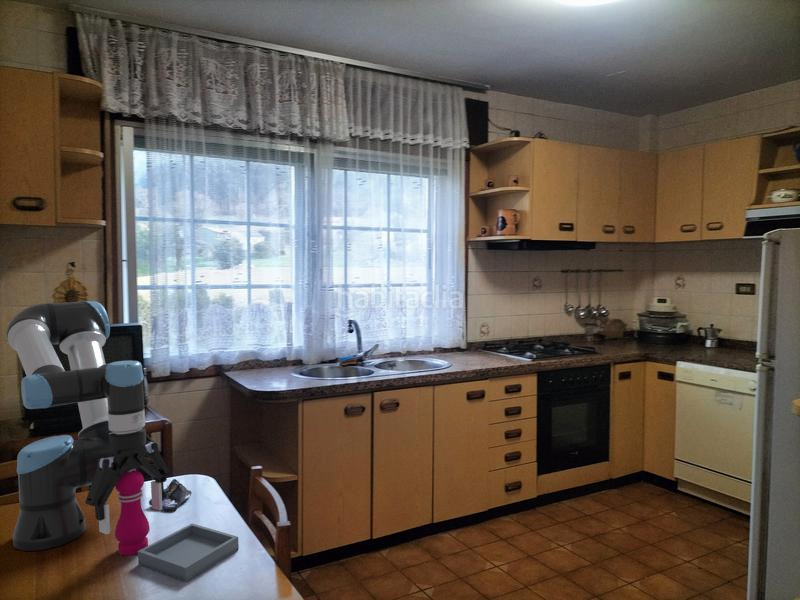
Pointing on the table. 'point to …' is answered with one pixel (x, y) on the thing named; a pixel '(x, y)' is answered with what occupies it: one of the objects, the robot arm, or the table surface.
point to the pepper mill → (131, 514)
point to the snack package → (173, 495)
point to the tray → (188, 551)
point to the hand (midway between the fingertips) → (132, 520)
